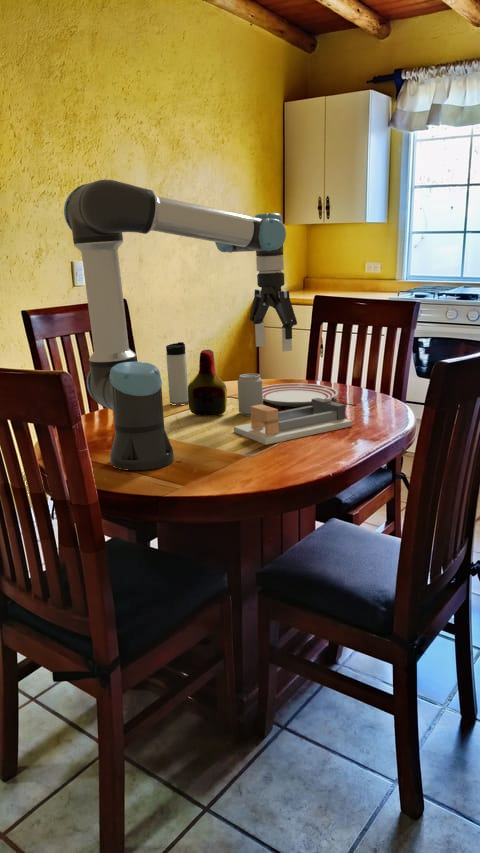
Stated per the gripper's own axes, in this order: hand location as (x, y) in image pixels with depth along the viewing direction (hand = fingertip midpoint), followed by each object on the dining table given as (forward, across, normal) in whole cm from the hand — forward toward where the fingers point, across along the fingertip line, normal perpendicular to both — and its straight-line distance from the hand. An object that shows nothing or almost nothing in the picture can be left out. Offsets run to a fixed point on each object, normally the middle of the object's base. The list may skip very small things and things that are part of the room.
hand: (273, 348), depth 190 cm
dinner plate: (+21, +17, -19) cm, 33 cm away
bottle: (+21, +18, +13) cm, 30 cm away
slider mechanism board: (+21, -12, +3) cm, 24 cm away
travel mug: (+21, +38, +13) cm, 45 cm away
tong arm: (+19, -8, +1) cm, 21 cm away
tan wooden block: (+19, -14, +13) cm, 27 cm away
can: (+21, +11, +2) cm, 24 cm away
